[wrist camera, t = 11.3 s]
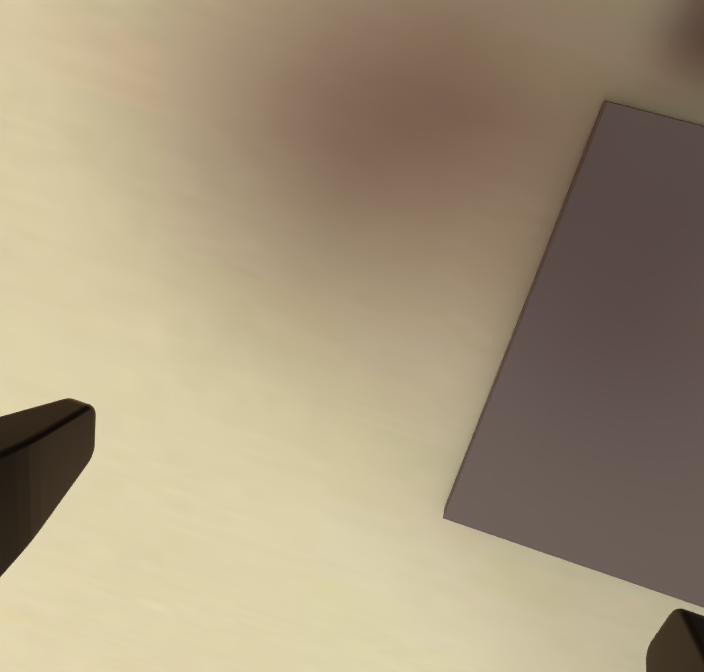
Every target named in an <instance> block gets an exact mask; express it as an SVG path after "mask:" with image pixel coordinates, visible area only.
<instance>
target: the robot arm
mask: <svg viewBox="0 0 704 672" xmlns="http://www.w3.org/2000/svg"><path fill="white" fill-rule="evenodd" d="M95 419H96V414H95V409H94V408H93V407H92V406H91V405H90V404H87V403H84V402H81V401H78V400H75V399H71V398H67V399H63V400H59V401H55V402H52V403H48V404H45V405H41V406H37V407H34V408H30V409H26V410H23V411H19V412H16V413H12V414H8V415H5V416H1V417H0V577H1V576H2V574H3V573H4V572H5V571H6V570H7V569H8V568H9V567H10V565H11V564H12V563H13V562H14V561H15V560H16V559H17V558H18V556H19V555H20V554H21V553H22V552H23V551H24V549H25V548H26V547H27V546H28V545H29V543H30V542H31V541H32V540H33V539H34V537H35V536H36V535H37V533H38V532H39V531H40V529H41V528H42V527H43V525H44V524H45V522H46V521H47V520H48V518H49V517H50V515H51V514H52V513H53V511H54V510H55V508H56V507H57V506H58V504H59V503H60V502H61V500H62V499H63V497H64V496H65V495H66V493H67V492H68V490H69V489H70V488H71V486H72V485H73V483H74V482H75V481H76V479H77V478H78V476H79V475H80V474H81V472H82V471H83V469H84V468H85V467H86V465H87V464H88V462H89V461H90V459H91V457H92V454H93V451H94V446H95ZM646 672H704V616H702V615H699V614H696V613H693V612H690V611H687V610H685V609H676V610H674V611H673V612H672V613H671V614H670V615H669V617H668V618H667V620H666V621H665V622H664V624H663V625H662V627H661V628H660V630H659V631H658V633H657V634H656V635H655V637H654V638H653V640H652V641H651V643H650V645H649V647H648V650H647V655H646Z"/></svg>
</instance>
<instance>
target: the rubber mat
mask: <svg viewBox="0 0 704 672" xmlns="http://www.w3.org/2000/svg"><path fill="white" fill-rule="evenodd" d="M443 518H444V519H447V520H450V521H453V522H456V523H459V524H462V525H465V526H468V527H471V528H473V529H476V530H479V531H482V532H485V533H488V534H491V535H494V536H497V537H500V538H503V539H506V540H508V541H511V542H514V543H517V544H520V545H523V546H526V547H529V548H532V549H535V550H538V551H541V552H543V553H546V554H549V555H552V556H555V557H558V558H561V559H564V560H567V561H570V562H573V563H575V564H578V565H581V566H584V567H587V568H590V569H593V570H596V571H599V572H602V573H605V574H608V575H610V576H613V577H616V578H619V579H622V580H625V581H628V582H631V583H634V584H637V585H640V586H643V587H645V588H648V589H651V590H654V591H657V592H660V593H663V594H666V595H669V596H672V597H675V598H677V599H680V600H683V601H686V602H689V603H692V604H695V605H698V606H701V607H704V126H701V125H697V124H693V123H689V122H685V121H681V120H677V119H673V118H670V117H666V116H662V115H658V114H654V113H650V112H646V111H642V110H639V109H635V108H631V107H627V106H623V105H619V104H615V103H611V102H607V101H604V103H603V106H602V108H601V111H600V114H599V116H598V119H597V121H596V124H595V126H594V129H593V131H592V134H591V136H590V139H589V142H588V144H587V147H586V149H585V152H584V154H583V157H582V159H581V162H580V164H579V167H578V170H577V172H576V175H575V177H574V180H573V182H572V185H571V187H570V190H569V193H568V195H567V198H566V200H565V203H564V205H563V208H562V210H561V213H560V215H559V218H558V221H557V223H556V226H555V228H554V231H553V233H552V236H551V238H550V241H549V243H548V246H547V249H546V251H545V254H544V256H543V259H542V261H541V264H540V266H539V269H538V271H537V274H536V277H535V279H534V282H533V284H532V287H531V289H530V292H529V294H528V297H527V299H526V302H525V305H524V307H523V310H522V312H521V315H520V317H519V320H518V322H517V325H516V327H515V330H514V333H513V335H512V338H511V340H510V343H509V345H508V348H507V350H506V353H505V356H504V358H503V361H502V363H501V366H500V368H499V371H498V373H497V376H496V378H495V381H494V384H493V386H492V389H491V391H490V394H489V396H488V399H487V401H486V404H485V406H484V409H483V412H482V414H481V417H480V419H479V422H478V424H477V427H476V429H475V432H474V434H473V437H472V440H471V442H470V445H469V447H468V450H467V452H466V455H465V457H464V460H463V462H462V465H461V468H460V470H459V473H458V475H457V478H456V480H455V483H454V485H453V488H452V490H451V493H450V496H449V498H448V501H447V503H446V506H445V508H444V515H443Z"/></svg>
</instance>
